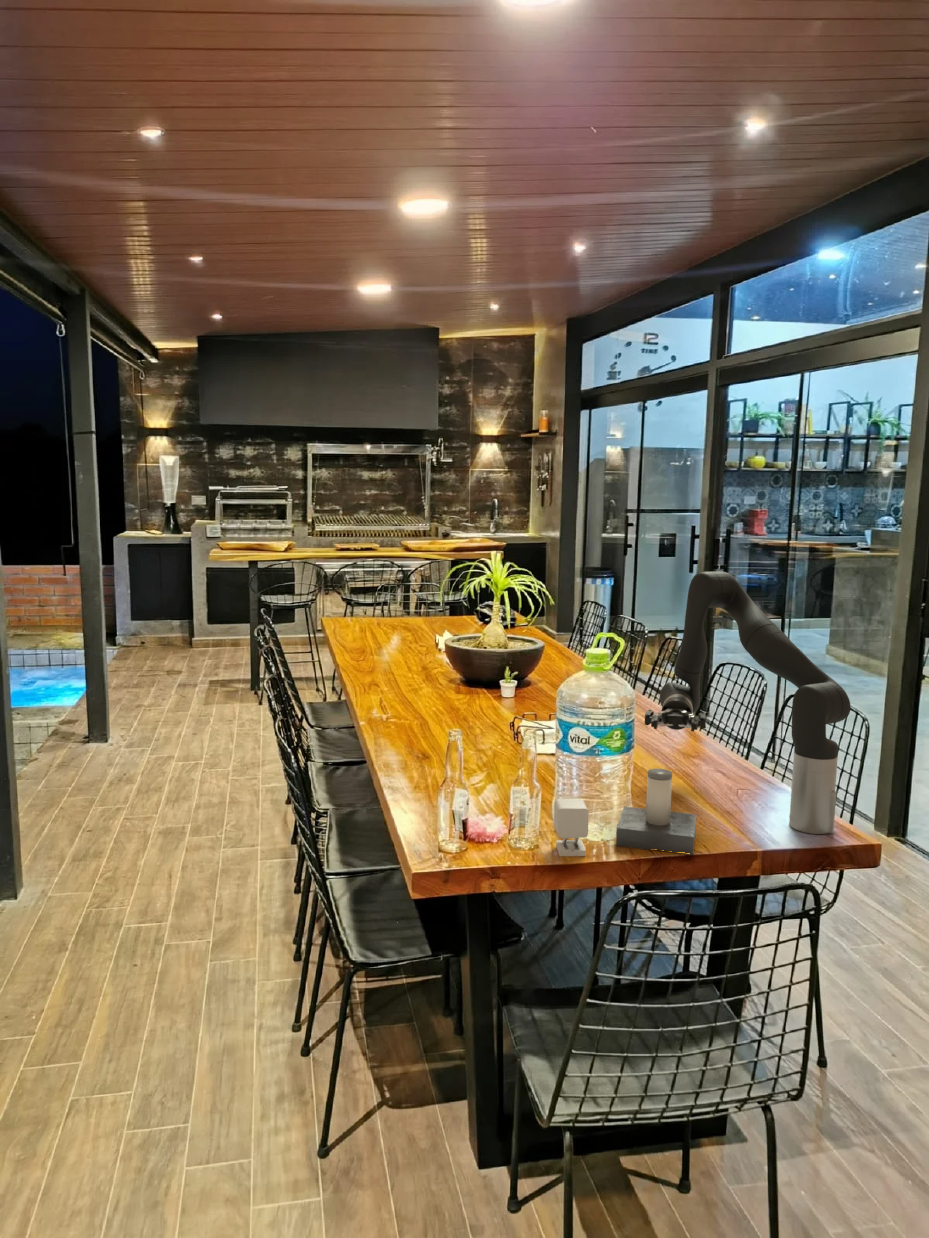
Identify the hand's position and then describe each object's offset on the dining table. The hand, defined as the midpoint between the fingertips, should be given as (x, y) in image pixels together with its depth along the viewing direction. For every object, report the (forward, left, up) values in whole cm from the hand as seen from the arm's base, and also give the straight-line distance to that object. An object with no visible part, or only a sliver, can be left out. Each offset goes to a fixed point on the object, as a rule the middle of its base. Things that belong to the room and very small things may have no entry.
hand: (674, 726), depth 215 cm
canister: (+2, +18, -17) cm, 24 cm away
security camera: (+19, +30, -21) cm, 41 cm away
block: (+2, +18, -21) cm, 27 cm away
